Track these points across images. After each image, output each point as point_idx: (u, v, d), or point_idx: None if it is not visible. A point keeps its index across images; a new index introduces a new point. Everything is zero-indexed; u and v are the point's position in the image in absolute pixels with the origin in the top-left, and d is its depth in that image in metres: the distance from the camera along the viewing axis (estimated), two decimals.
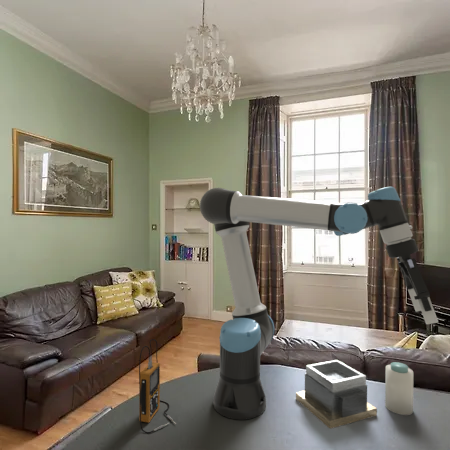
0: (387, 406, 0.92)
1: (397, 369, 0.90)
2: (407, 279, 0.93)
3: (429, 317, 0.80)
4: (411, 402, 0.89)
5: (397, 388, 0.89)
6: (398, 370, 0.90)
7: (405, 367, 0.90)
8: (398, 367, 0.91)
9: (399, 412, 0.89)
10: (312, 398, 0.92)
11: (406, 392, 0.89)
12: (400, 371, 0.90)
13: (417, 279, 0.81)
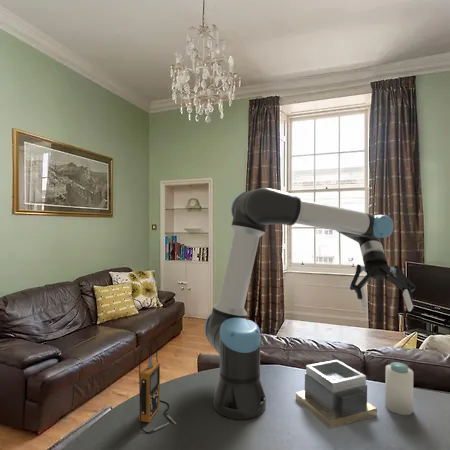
0: (387, 406, 0.92)
1: (397, 369, 0.90)
2: (366, 281, 1.09)
3: None
4: (411, 402, 0.89)
5: (397, 388, 0.89)
6: (398, 370, 0.90)
7: (405, 367, 0.90)
8: (398, 367, 0.91)
9: (399, 412, 0.89)
10: (312, 398, 0.92)
11: (406, 392, 0.89)
12: (400, 371, 0.90)
13: None
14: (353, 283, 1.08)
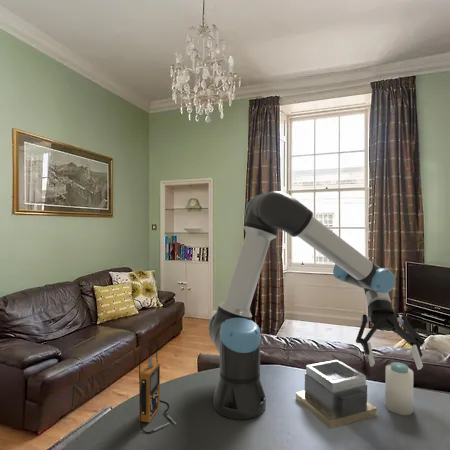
0: (387, 406, 0.92)
1: (397, 369, 0.90)
2: (373, 333, 1.04)
3: None
4: (411, 402, 0.89)
5: (397, 388, 0.89)
6: (398, 370, 0.90)
7: (405, 368, 0.90)
8: (398, 367, 0.91)
9: (399, 412, 0.89)
10: (312, 398, 0.92)
11: (406, 392, 0.89)
12: (400, 371, 0.90)
13: None
14: (359, 336, 1.03)
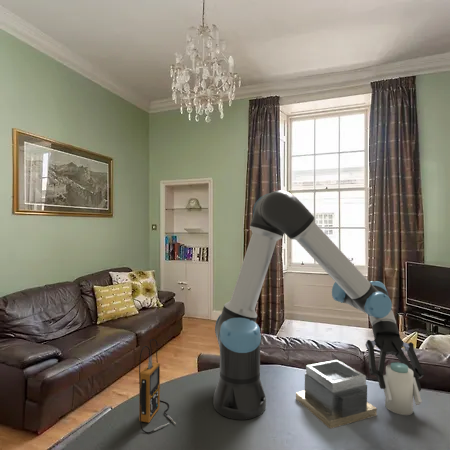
0: (387, 406, 0.92)
1: (397, 369, 0.90)
2: (384, 361, 0.96)
3: None
4: (411, 402, 0.89)
5: (397, 388, 0.89)
6: (398, 370, 0.90)
7: (405, 367, 0.90)
8: (398, 367, 0.91)
9: (399, 412, 0.89)
10: (312, 398, 0.92)
11: (406, 392, 0.89)
12: (400, 371, 0.90)
13: None
14: (374, 368, 0.94)
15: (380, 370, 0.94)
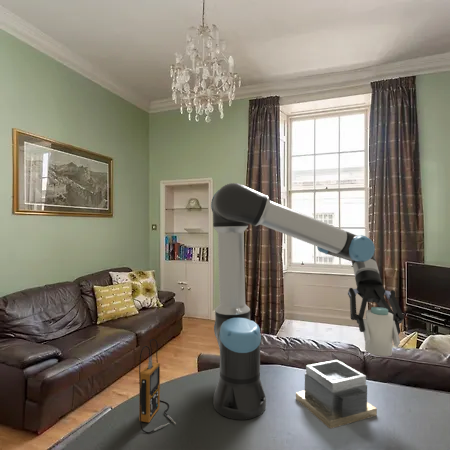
0: (366, 349, 0.92)
1: (377, 311, 0.91)
2: (365, 307, 0.96)
3: None
4: (390, 344, 0.89)
5: (377, 329, 0.89)
6: (378, 312, 0.90)
7: (385, 310, 0.91)
8: (378, 310, 0.91)
9: (378, 353, 0.89)
10: (312, 398, 0.92)
11: (385, 333, 0.89)
12: (380, 313, 0.90)
13: None
14: (354, 312, 0.95)
15: (360, 314, 0.94)
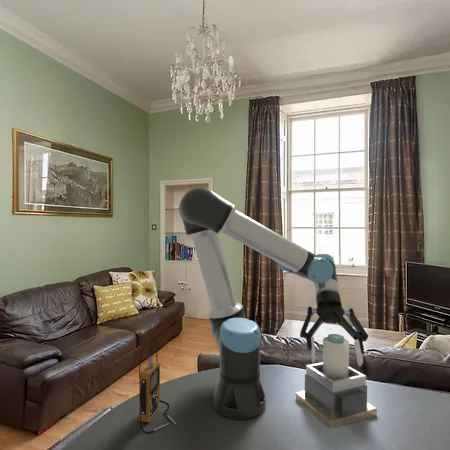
0: None
1: (332, 340, 0.91)
2: (317, 327, 0.97)
3: None
4: (345, 372, 0.89)
5: (332, 358, 0.89)
6: (333, 340, 0.90)
7: (340, 338, 0.91)
8: (334, 338, 0.91)
9: None
10: (312, 398, 0.92)
11: (340, 362, 0.89)
12: (335, 341, 0.90)
13: None
14: (303, 330, 0.96)
15: (309, 332, 0.95)
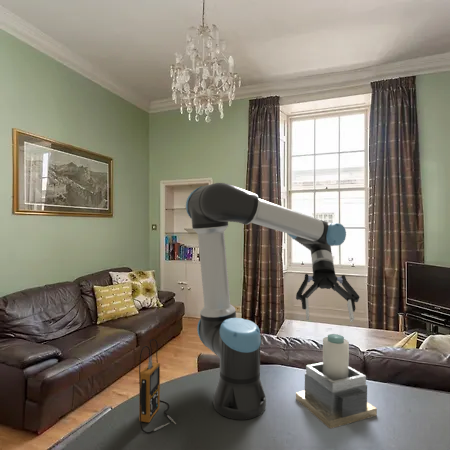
0: None
1: (332, 340, 0.90)
2: (312, 290, 1.09)
3: None
4: (345, 372, 0.89)
5: (332, 358, 0.89)
6: (333, 341, 0.90)
7: (340, 338, 0.91)
8: (334, 338, 0.91)
9: None
10: (312, 398, 0.92)
11: (340, 362, 0.89)
12: (335, 342, 0.90)
13: None
14: (299, 293, 1.08)
15: (304, 294, 1.08)
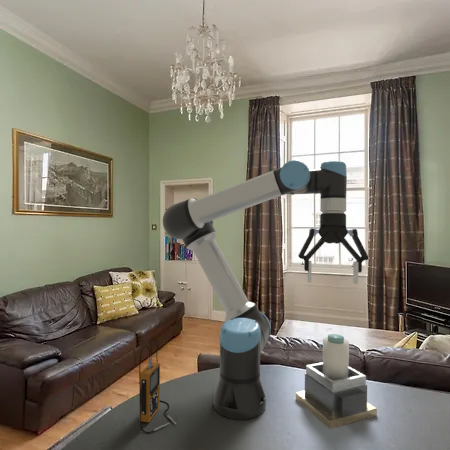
0: None
1: (332, 340, 0.90)
2: (316, 250, 0.98)
3: None
4: (345, 372, 0.89)
5: (332, 358, 0.89)
6: (333, 341, 0.90)
7: (340, 338, 0.91)
8: (334, 338, 0.91)
9: None
10: (312, 398, 0.92)
11: (340, 362, 0.89)
12: (335, 342, 0.90)
13: None
14: (302, 255, 0.98)
15: (307, 256, 0.98)
